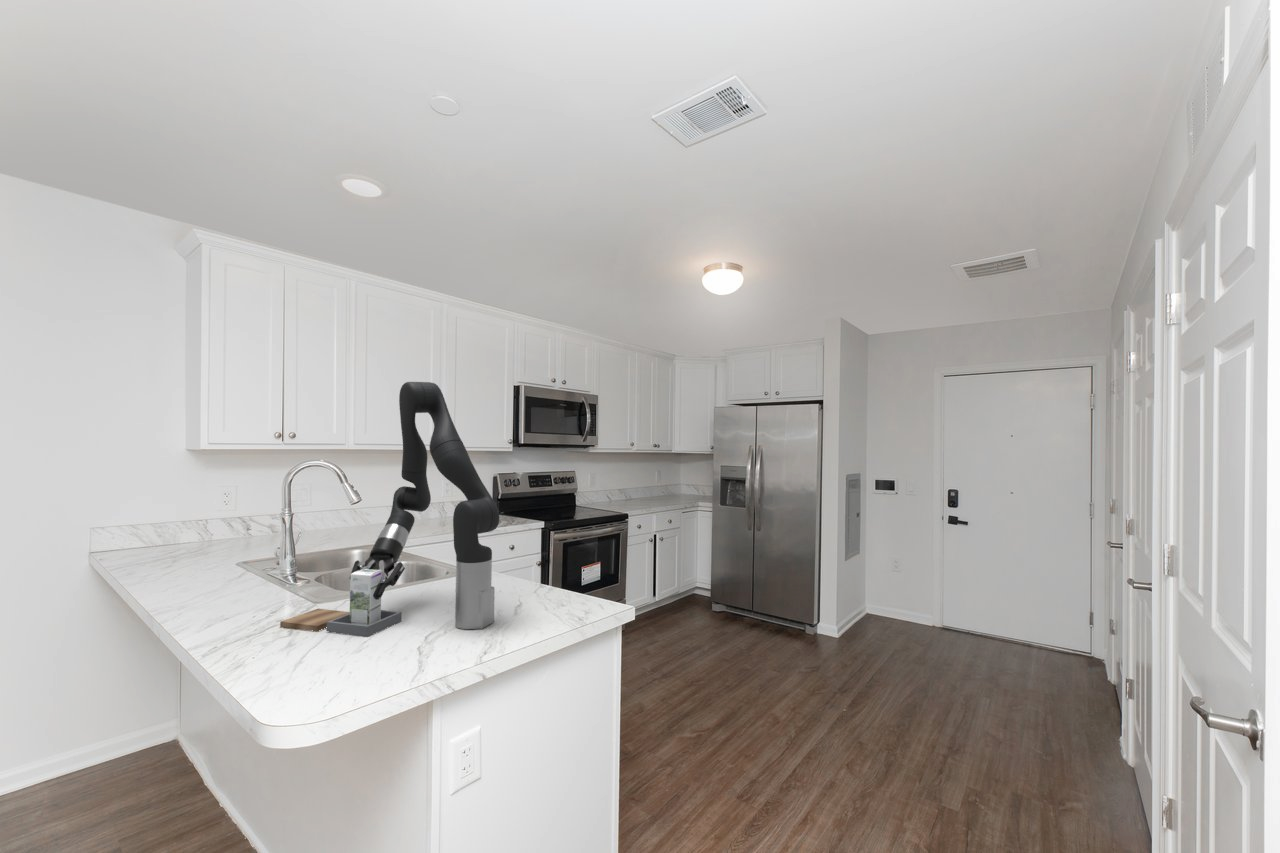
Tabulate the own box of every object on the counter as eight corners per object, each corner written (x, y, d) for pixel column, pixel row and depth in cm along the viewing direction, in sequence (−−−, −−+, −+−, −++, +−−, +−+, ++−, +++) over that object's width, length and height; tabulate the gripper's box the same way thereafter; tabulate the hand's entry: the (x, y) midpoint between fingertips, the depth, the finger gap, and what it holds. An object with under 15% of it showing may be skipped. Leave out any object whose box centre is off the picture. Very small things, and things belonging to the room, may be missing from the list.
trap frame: (401, 621, 152) (401, 612, 152) (367, 636, 140) (367, 626, 140) (363, 617, 156) (363, 608, 156) (326, 631, 144) (326, 621, 144)
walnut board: (352, 617, 155) (353, 612, 155) (317, 631, 143) (317, 625, 143) (317, 613, 158) (318, 608, 158) (280, 627, 147) (280, 621, 147)
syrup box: (381, 623, 151) (383, 569, 151) (368, 630, 145) (370, 574, 145) (361, 622, 151) (363, 568, 152) (347, 629, 145) (349, 573, 146)
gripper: (361, 535, 158) (332, 589, 145) (409, 536, 156) (384, 591, 144) (371, 550, 163) (344, 603, 151) (418, 552, 161) (395, 606, 149)
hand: (364, 597), depth 147 cm, fingers closed on syrup box, 5 cm apart
